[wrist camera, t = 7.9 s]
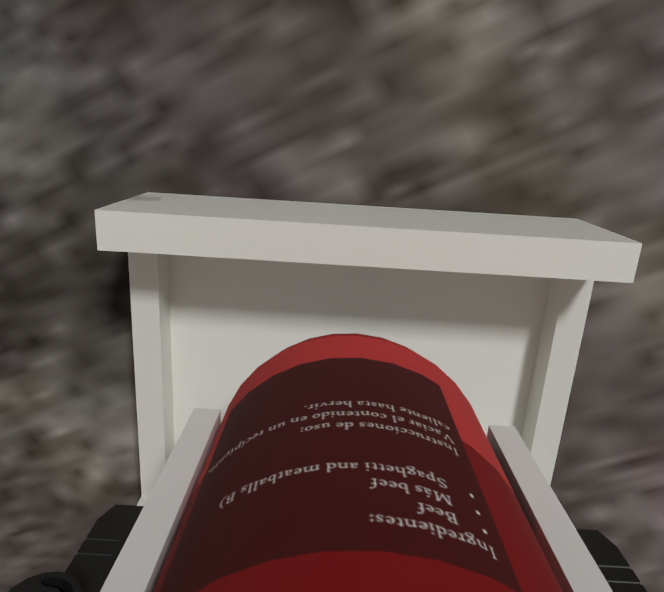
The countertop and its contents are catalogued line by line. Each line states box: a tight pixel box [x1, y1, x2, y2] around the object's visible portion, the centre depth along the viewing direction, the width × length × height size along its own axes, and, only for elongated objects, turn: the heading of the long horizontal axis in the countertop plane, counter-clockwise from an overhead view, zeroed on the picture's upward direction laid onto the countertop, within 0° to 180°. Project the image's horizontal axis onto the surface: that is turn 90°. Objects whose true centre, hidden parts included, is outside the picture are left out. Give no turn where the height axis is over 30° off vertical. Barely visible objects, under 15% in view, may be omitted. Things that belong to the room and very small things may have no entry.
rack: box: [95, 192, 642, 506], centre depth 21 cm, size 16×25×4 cm, turn 177°
